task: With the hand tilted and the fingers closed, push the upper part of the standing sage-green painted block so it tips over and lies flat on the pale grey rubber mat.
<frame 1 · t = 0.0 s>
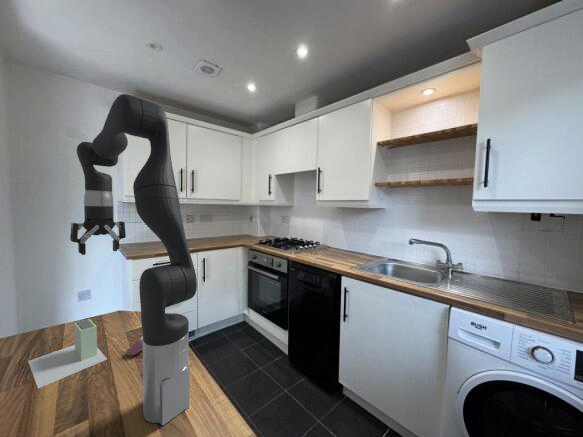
hand: (100, 252, 79), 29 cm above the counter, tool pointing down, fingers open, 8 cm apart
block: (86, 353, 71), resting on mat
mat: (68, 361, 68), on the counter
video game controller: (145, 348, 76), on the counter
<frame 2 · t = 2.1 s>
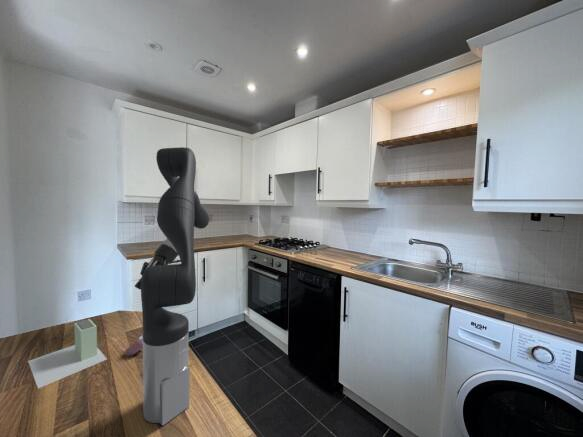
hand: (137, 288, 83), 16 cm above the counter, tool tilted 45°, fingers closed
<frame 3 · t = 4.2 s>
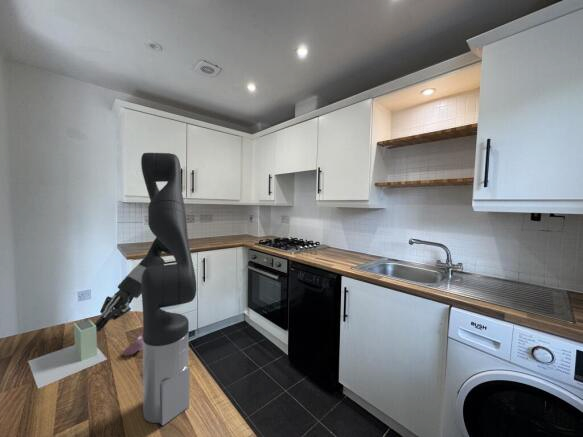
hand: (95, 329, 73), 7 cm above the counter, tool tilted 45°, fingers closed
block: (86, 353, 71), resting on mat, touching gripper
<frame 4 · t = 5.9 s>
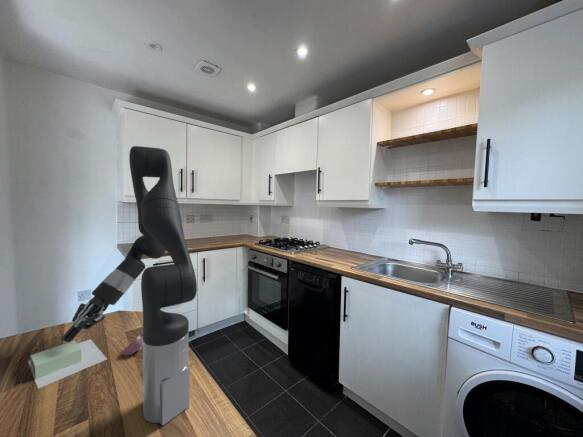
hand: (65, 340, 67), 7 cm above the counter, tool tilted 45°, fingers closed
block: (77, 350, 70), point 2 cm above the counter, tilted 90°, touching mat
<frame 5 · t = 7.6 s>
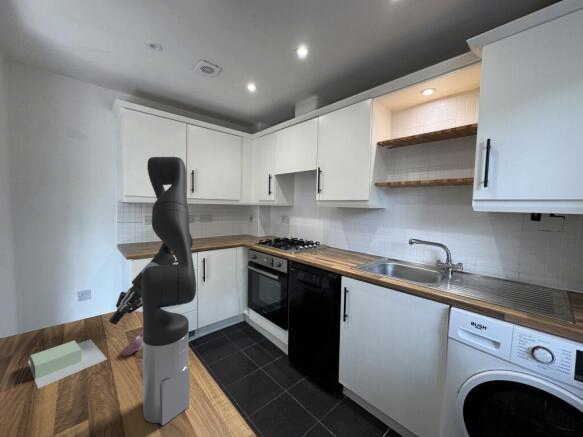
hand: (112, 323, 77), 7 cm above the counter, tool tilted 45°, fingers closed
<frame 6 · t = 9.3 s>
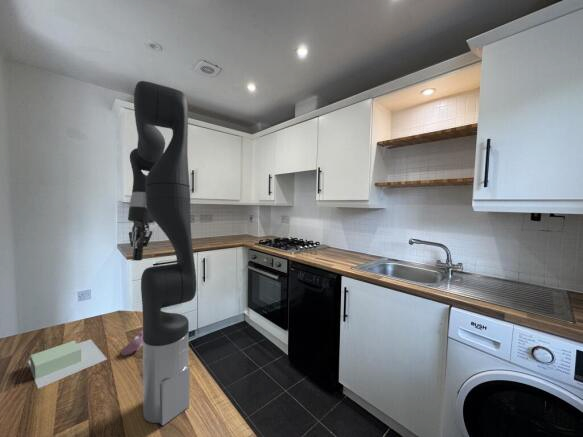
hand: (137, 260, 75), 28 cm above the counter, tool pointing down, fingers closed
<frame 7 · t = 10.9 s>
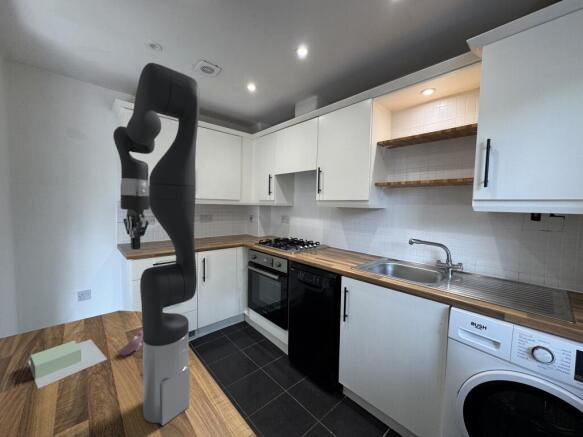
hand: (135, 249, 74), 32 cm above the counter, tool pointing down, fingers closed
at the end: block tilted 90°; block inside the target area (3.2 cm from its centre), point 2.1 cm above the counter; the gripper is holding nothing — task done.
